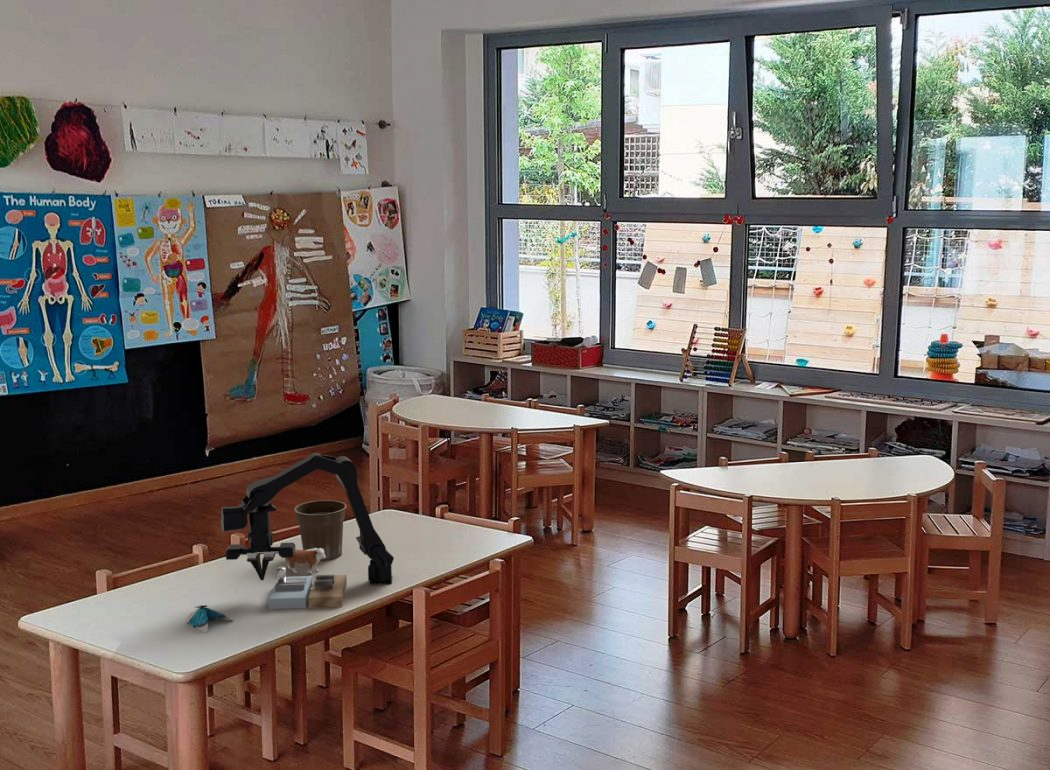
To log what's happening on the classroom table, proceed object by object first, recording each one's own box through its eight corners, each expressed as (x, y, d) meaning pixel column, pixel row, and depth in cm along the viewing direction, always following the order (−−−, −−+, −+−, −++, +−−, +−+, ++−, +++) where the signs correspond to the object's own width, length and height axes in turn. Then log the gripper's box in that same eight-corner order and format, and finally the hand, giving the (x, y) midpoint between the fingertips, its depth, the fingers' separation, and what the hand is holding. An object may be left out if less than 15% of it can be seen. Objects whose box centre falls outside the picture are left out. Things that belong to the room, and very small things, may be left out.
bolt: (305, 584, 311) (304, 565, 310) (304, 587, 308) (303, 568, 308) (277, 585, 310) (276, 566, 309) (276, 588, 308) (275, 569, 307)
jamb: (346, 584, 320) (346, 567, 319) (341, 606, 302) (341, 588, 301) (316, 585, 319) (315, 568, 318) (309, 607, 301) (308, 589, 301)
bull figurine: (325, 576, 327) (324, 550, 326) (283, 573, 330) (282, 547, 329) (330, 571, 331) (329, 546, 330) (289, 568, 334) (288, 543, 333)
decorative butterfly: (205, 600, 298) (229, 598, 292) (210, 623, 298) (234, 621, 292) (175, 612, 289) (200, 610, 284) (181, 635, 289) (205, 634, 284)
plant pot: (311, 567, 335) (309, 517, 333) (287, 554, 348) (285, 506, 345) (357, 556, 345) (355, 507, 343) (332, 544, 358) (330, 497, 355)
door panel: (312, 585, 319) (311, 570, 318) (305, 608, 301) (304, 592, 301) (278, 586, 318) (277, 571, 318) (268, 609, 301) (268, 593, 300)
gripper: (296, 517, 314) (299, 569, 317) (231, 519, 313) (234, 571, 316) (291, 529, 303) (294, 582, 306) (223, 531, 302) (227, 584, 305)
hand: (262, 579), depth 308 cm, fingers closed
